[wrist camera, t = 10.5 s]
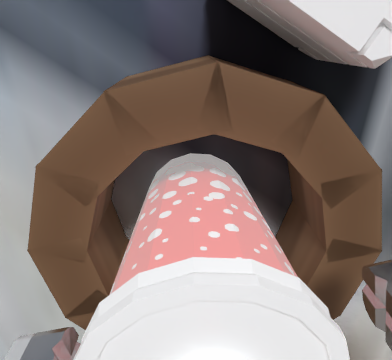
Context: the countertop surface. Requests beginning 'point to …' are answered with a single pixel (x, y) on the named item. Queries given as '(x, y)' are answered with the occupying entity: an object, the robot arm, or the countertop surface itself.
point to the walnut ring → (191, 129)
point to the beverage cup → (207, 280)
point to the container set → (329, 27)
